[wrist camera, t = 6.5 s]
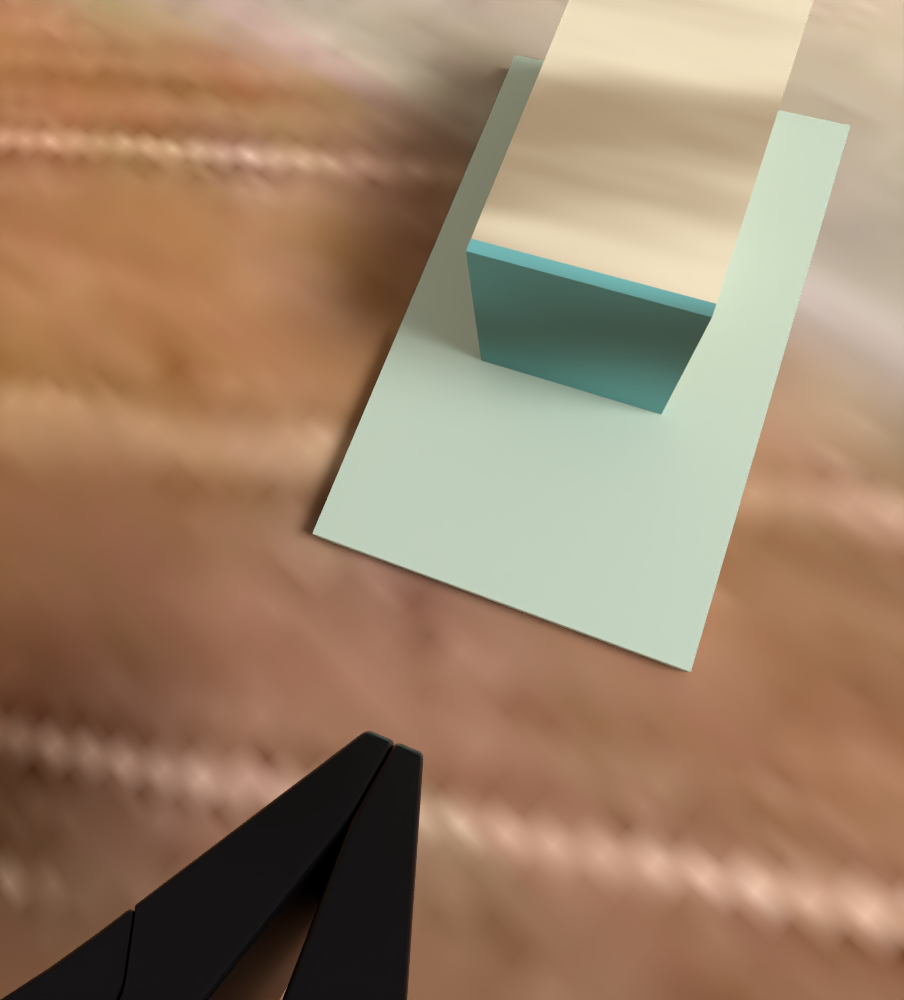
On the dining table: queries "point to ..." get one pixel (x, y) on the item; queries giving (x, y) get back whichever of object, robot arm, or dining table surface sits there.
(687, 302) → the maple block
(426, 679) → the dining table surface
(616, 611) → the mat
